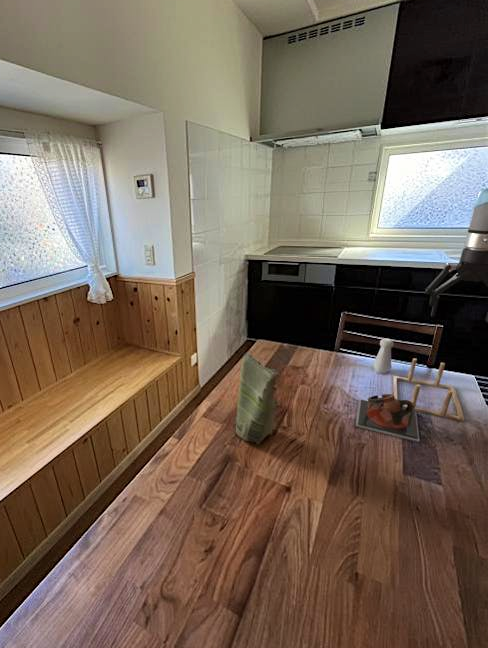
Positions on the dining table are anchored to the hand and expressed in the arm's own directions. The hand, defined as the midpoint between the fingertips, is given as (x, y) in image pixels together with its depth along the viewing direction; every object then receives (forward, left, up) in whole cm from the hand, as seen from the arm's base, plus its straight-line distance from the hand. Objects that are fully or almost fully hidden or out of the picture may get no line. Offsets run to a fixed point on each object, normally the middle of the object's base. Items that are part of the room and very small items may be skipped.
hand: (459, 318), depth 103 cm
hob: (+15, +23, -27) cm, 38 cm away
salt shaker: (+17, -8, -27) cm, 33 cm away
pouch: (+49, +45, -27) cm, 72 cm away
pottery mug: (+15, +23, -26) cm, 37 cm away
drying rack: (+4, +5, -27) cm, 27 cm away
